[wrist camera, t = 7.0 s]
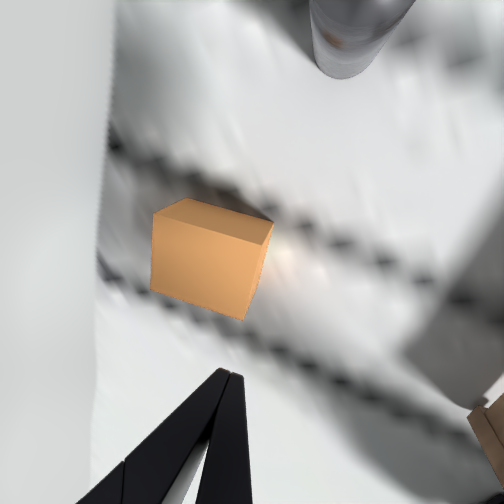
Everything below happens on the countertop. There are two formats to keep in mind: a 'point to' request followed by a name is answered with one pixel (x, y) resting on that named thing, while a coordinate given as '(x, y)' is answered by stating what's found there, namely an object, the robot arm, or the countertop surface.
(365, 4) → the gate posts
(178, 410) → the robot arm
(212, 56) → the countertop surface
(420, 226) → the countertop surface
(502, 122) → the countertop surface
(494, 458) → the gate
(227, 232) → the orange-brown rectangular block
